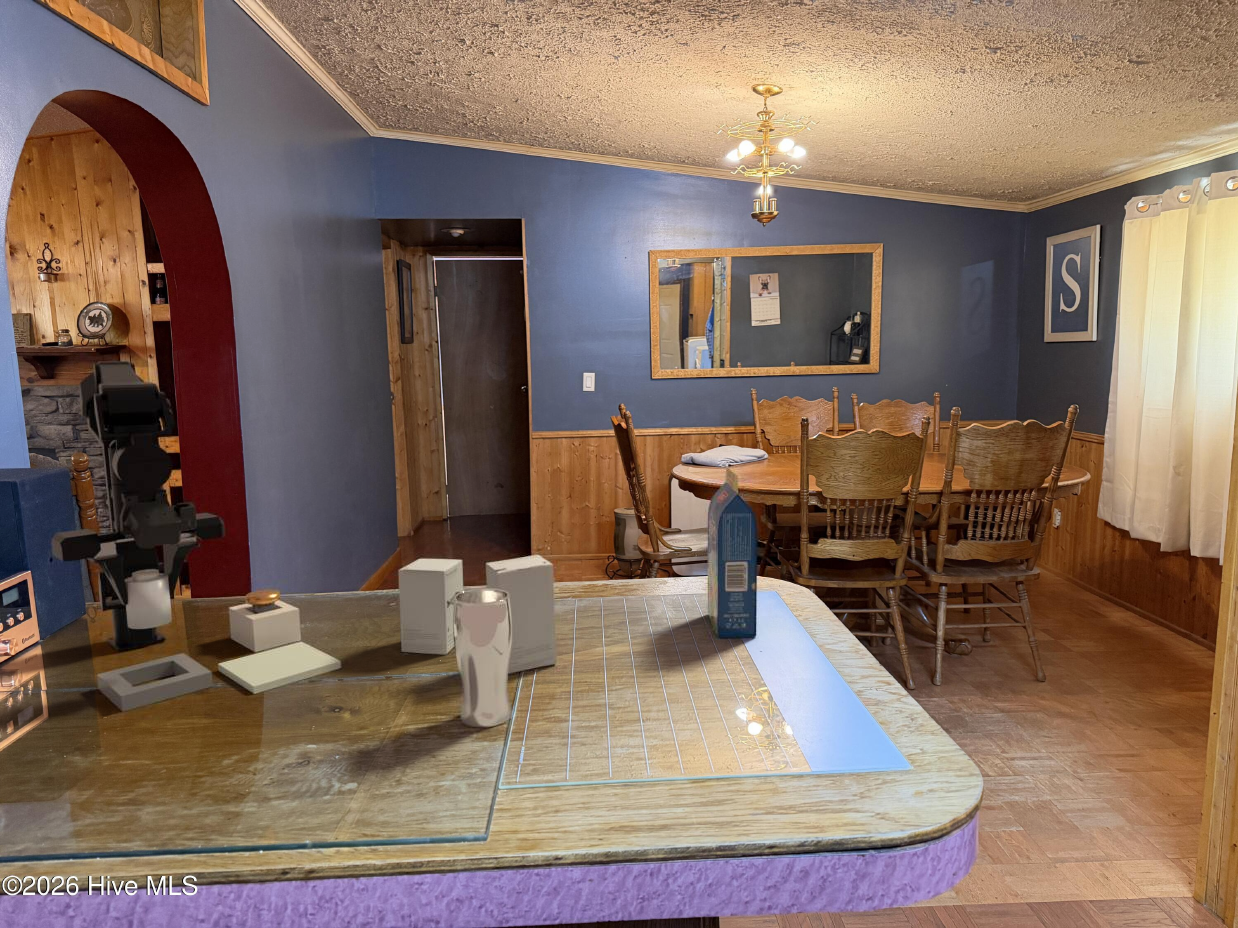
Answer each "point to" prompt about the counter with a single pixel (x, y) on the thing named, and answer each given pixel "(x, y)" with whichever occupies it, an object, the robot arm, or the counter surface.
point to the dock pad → (278, 667)
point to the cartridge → (148, 599)
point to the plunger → (262, 600)
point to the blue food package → (732, 562)
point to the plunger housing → (264, 626)
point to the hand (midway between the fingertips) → (147, 599)
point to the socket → (131, 697)
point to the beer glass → (483, 654)
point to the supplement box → (428, 604)
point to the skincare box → (528, 609)
